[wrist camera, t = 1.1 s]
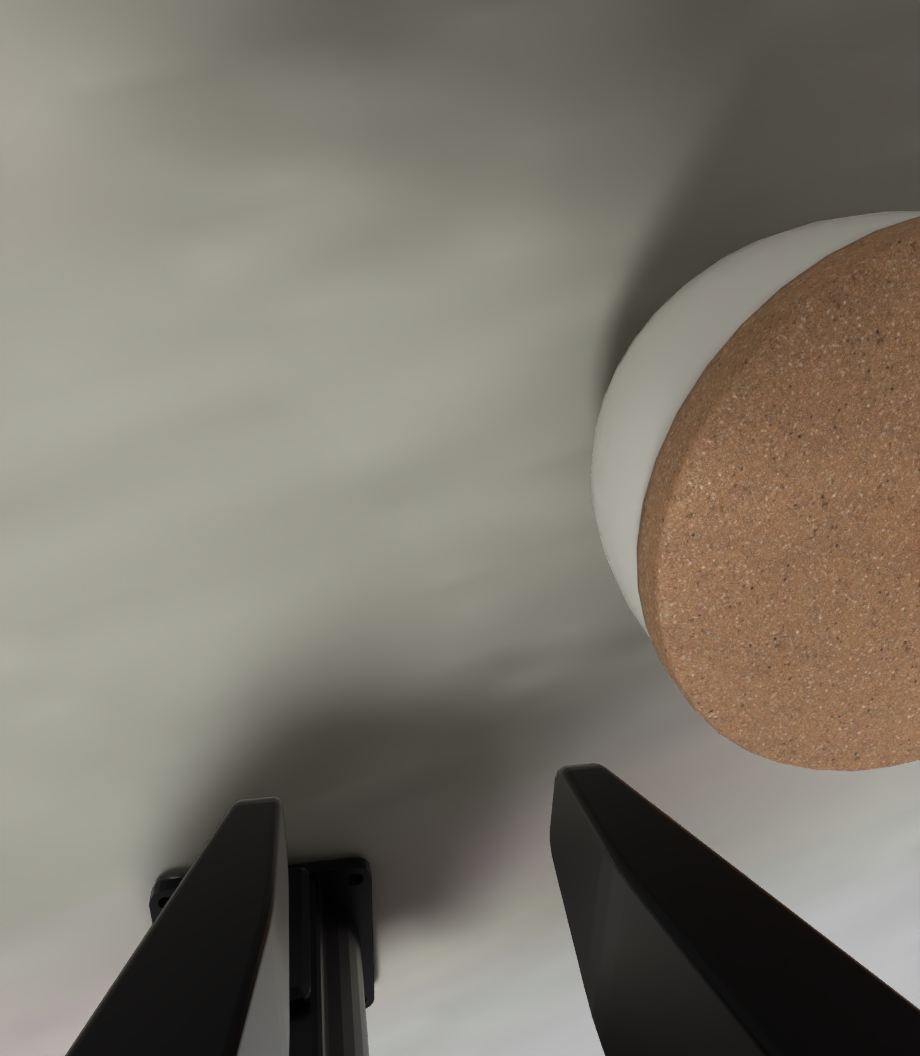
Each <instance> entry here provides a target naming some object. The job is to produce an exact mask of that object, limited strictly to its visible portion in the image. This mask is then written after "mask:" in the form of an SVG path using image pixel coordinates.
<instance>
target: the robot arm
mask: <svg viewBox="0 0 920 1056" xmlns="http://www.w3.org/2000/svg"><path fill="white" fill-rule="evenodd" d="M550 846H551V853H552V858H553V862H554V866H555V870H556V875H557V879H558V883H559V887H560V891H561V895H562V899H563V903H564V907H565V911H566V915H567V919H568V923H569V927H570V931H571V935H572V939H573V943H574V947H575V951H576V955H577V959H578V964H579V968H580V972H581V976H582V980H583V984H584V988H585V992H586V995H587V999H588V1003H589V1007H590V1011H591V1014H592V1018H593V1021H594V1024H595V1027H596V1030H597V1033H598V1036H599V1039H600V1042H601V1045H602V1048H603V1051H604V1053H605V1056H920V1009H918V1008H917V1007H916V1006H914V1005H913V1004H912V1003H911V1002H909V1001H908V1000H907V999H905V998H904V997H903V996H901V995H900V994H899V993H898V992H896V991H895V990H894V989H892V988H891V987H890V986H889V985H887V984H886V983H885V982H883V981H882V980H881V979H879V978H878V977H877V976H876V975H874V974H873V973H872V972H870V971H869V970H868V969H866V968H865V967H864V966H863V965H861V964H860V963H859V962H857V961H856V960H855V959H853V958H852V957H851V956H850V955H848V954H847V953H846V952H844V951H843V950H842V949H840V948H839V947H838V946H837V945H835V944H834V943H833V942H831V941H830V940H829V939H827V938H826V937H825V936H824V935H822V934H821V933H820V932H818V931H817V930H816V929H814V928H813V927H812V926H811V925H809V924H808V923H807V922H805V921H804V920H803V919H802V918H800V917H799V916H798V915H796V914H795V913H794V912H792V911H791V910H790V909H789V908H787V907H786V906H785V905H783V904H782V903H781V902H779V901H778V900H777V899H776V898H774V897H773V896H772V895H770V894H769V893H768V892H766V891H765V890H764V889H763V888H761V887H760V886H759V885H757V884H756V883H755V882H753V881H752V880H751V879H750V878H748V877H747V876H746V875H744V874H743V873H742V872H740V871H739V870H738V869H737V868H735V867H734V866H733V865H731V864H730V863H729V862H727V861H726V860H725V859H724V858H722V857H721V856H720V855H718V854H717V853H716V852H715V851H713V850H712V849H711V848H709V847H708V846H707V845H705V844H704V843H703V842H702V841H700V840H699V839H698V838H696V837H695V836H694V835H692V834H691V833H690V832H689V831H687V830H686V829H685V828H683V827H682V826H681V825H679V824H678V823H677V822H676V821H674V820H673V819H672V818H670V817H669V816H668V815H666V814H665V813H664V812H663V811H661V810H660V809H659V808H657V807H656V806H655V805H653V804H652V803H651V802H650V801H648V800H647V799H646V798H644V797H643V796H642V795H640V794H639V793H638V792H637V791H635V790H634V789H633V788H631V787H630V786H629V785H628V784H626V783H625V782H624V781H622V780H621V779H620V778H618V777H617V776H616V775H615V774H613V773H612V772H611V771H609V770H608V769H607V768H605V767H604V766H602V765H600V764H595V763H591V764H582V765H572V766H564V767H562V768H561V769H559V770H558V772H557V775H556V777H555V783H554V794H553V804H552V814H551V824H550ZM354 873H357V874H358V875H351V874H354ZM165 897H170V898H165ZM149 906H150V912H151V917H152V923H153V924H152V926H151V927H150V929H149V930H148V932H147V933H146V935H145V936H144V938H143V939H142V941H141V942H140V944H139V945H138V947H137V948H136V950H135V951H134V953H133V954H132V956H131V957H130V959H129V960H128V962H127V964H126V965H125V967H124V968H123V970H122V971H121V973H120V974H119V976H118V977H117V979H116V980H115V982H114V983H113V985H112V986H111V988H110V989H109V991H108V992H107V994H106V995H105V997H104V998H103V1000H102V1001H101V1003H100V1004H99V1006H98V1007H97V1009H96V1010H95V1012H94V1013H93V1015H92V1016H91V1018H90V1019H89V1021H88V1022H87V1024H86V1025H85V1027H84V1028H83V1030H82V1031H81V1033H80V1034H79V1036H78V1037H77V1039H76V1040H75V1042H74V1043H73V1045H72V1046H71V1048H70V1049H69V1051H68V1052H67V1054H66V1055H65V1056H369V1048H368V1035H367V1022H366V1008H368V1007H369V1006H370V1005H371V1004H372V1003H373V1001H374V965H373V922H372V879H371V868H370V864H369V862H368V861H367V860H366V859H363V858H360V857H352V858H344V859H335V860H327V861H319V862H310V863H302V864H293V865H288V862H287V849H286V837H285V824H284V812H283V804H282V801H281V800H280V798H278V797H274V796H272V797H263V798H253V799H243V800H239V801H237V802H235V803H234V804H233V805H232V806H231V807H230V809H229V810H228V812H227V813H226V815H225V816H224V818H223V819H222V821H221V822H220V824H219V825H218V827H217V828H216V830H215V831H214V833H213V834H212V836H211V837H210V839H209V840H208V842H207V843H206V845H205V846H204V848H203V849H202V851H201V852H200V854H199V855H198V857H197V858H196V860H195V861H194V863H193V864H192V866H191V867H190V869H189V870H188V872H187V873H186V875H185V876H184V878H176V879H167V880H164V881H160V882H159V883H157V884H156V885H155V886H154V887H153V889H152V892H151V897H150V903H149Z"/></svg>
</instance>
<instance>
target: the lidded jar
mask: <svg viewBox="0 0 920 1056" xmlns="http://www.w3.org/2000/svg"><path fill="white" fill-rule="evenodd" d="M591 485H592V503H593V508H594V512H595V517H596V521H597V525H598V530H599V534H600V538H601V542H602V546H603V550H604V553H605V555H606V558H607V560H608V562H609V565H610V567H611V569H612V572H613V574H614V576H615V579H616V581H617V583H618V585H619V588H620V590H621V592H622V594H623V596H624V598H625V600H626V603H627V604H628V606H629V607H630V609H631V611H632V612H633V614H634V615H635V617H636V618H637V620H638V621H639V623H640V624H641V626H642V627H643V629H644V630H645V632H646V633H647V635H648V636H649V638H650V639H651V641H652V642H653V645H654V647H655V649H656V652H657V654H658V657H659V659H660V661H661V662H662V664H663V666H664V667H665V668H666V670H667V671H668V673H669V674H670V676H671V677H672V679H673V680H674V682H675V683H676V684H677V686H678V687H679V689H680V690H681V692H682V693H683V695H684V696H685V697H686V699H687V700H688V702H689V703H690V704H691V706H692V707H693V708H694V709H695V711H696V712H697V713H699V714H700V715H701V716H702V717H703V718H704V719H705V720H706V721H707V722H708V723H709V724H710V725H711V726H712V727H713V728H714V729H715V730H716V731H717V732H718V733H720V734H721V735H723V736H725V737H726V738H728V739H729V740H731V741H733V742H734V743H736V744H737V745H739V746H741V747H742V748H744V749H745V750H747V751H750V752H752V753H755V754H758V755H760V756H763V757H765V758H768V759H771V760H773V761H776V762H779V763H783V764H789V765H794V766H800V767H805V768H810V769H817V770H838V771H858V770H866V769H875V768H883V767H890V766H894V765H899V764H903V763H908V762H912V761H916V760H920V211H885V212H878V213H871V214H863V215H856V216H849V217H843V218H836V219H830V220H823V221H816V222H813V223H810V224H807V225H803V226H800V227H797V228H794V229H791V230H788V231H785V232H782V233H779V234H776V235H772V236H769V237H766V238H763V239H760V240H757V241H755V242H753V243H751V244H749V245H747V246H745V247H743V248H741V249H739V250H737V251H735V252H733V253H731V254H729V255H727V256H725V257H723V258H721V259H720V260H719V261H717V262H716V263H714V264H713V265H712V266H710V267H709V268H707V269H706V270H705V271H703V272H702V273H700V274H699V275H698V276H696V277H695V278H693V279H692V280H691V281H689V282H688V283H687V284H685V285H684V286H683V287H681V288H680V289H679V290H678V291H677V292H676V293H675V294H674V295H673V296H672V297H671V298H670V299H669V300H668V301H667V302H665V303H664V304H663V305H662V306H661V307H660V308H659V309H658V310H657V311H656V312H655V313H654V315H653V316H652V317H651V318H650V320H649V321H648V322H647V323H646V325H645V326H644V327H643V328H642V330H641V331H640V332H639V333H638V335H637V336H636V337H635V338H634V340H633V341H632V343H631V345H630V346H629V348H628V350H627V352H626V353H625V355H624V357H623V358H622V360H621V362H620V363H619V365H618V367H617V368H616V371H615V373H614V375H613V378H612V380H611V382H610V385H609V387H608V389H607V392H606V394H605V397H604V399H603V403H602V407H601V410H600V414H599V418H598V422H597V426H596V429H595V437H594V446H593V456H592V465H591Z"/></svg>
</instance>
